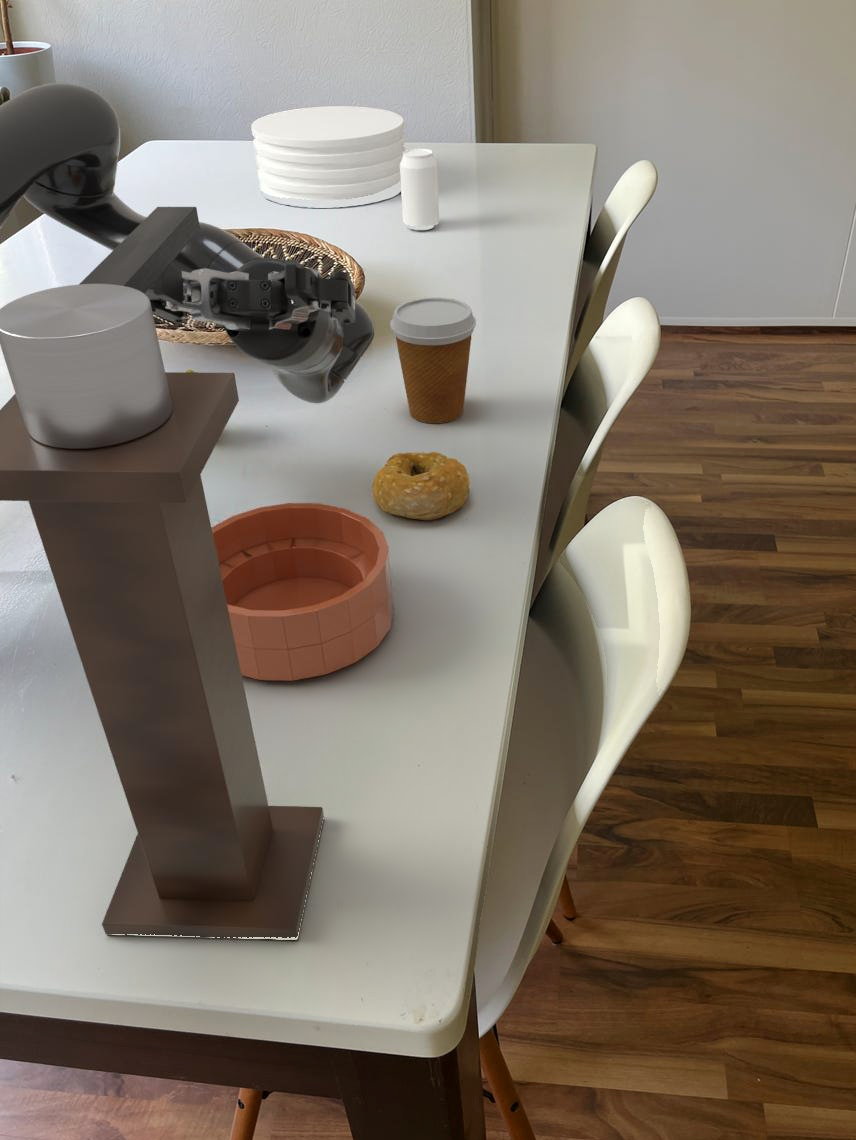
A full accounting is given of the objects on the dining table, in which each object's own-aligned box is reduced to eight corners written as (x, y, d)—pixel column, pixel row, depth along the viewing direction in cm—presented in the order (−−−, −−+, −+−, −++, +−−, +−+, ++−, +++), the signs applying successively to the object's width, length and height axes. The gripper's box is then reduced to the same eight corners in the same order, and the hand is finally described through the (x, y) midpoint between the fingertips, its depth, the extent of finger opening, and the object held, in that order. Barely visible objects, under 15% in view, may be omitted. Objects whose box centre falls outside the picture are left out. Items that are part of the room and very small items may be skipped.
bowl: (174, 684, 82) (156, 614, 77) (224, 567, 95) (211, 501, 90) (381, 688, 81) (374, 618, 77) (402, 569, 94) (397, 504, 90)
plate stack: (355, 161, 211) (350, 99, 204) (436, 189, 194) (433, 123, 187) (234, 185, 198) (224, 120, 191) (308, 218, 180) (300, 148, 173)
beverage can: (438, 232, 173) (435, 156, 166) (401, 233, 173) (397, 156, 166) (440, 221, 178) (437, 147, 170) (404, 222, 178) (400, 147, 171)
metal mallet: (3, 449, 44) (-34, 337, 41) (138, 293, 59) (118, 202, 56) (149, 450, 44) (122, 338, 41) (247, 293, 59) (233, 202, 56)
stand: (105, 936, 63) (-79, 469, 43) (153, 814, 71) (15, 370, 51) (298, 941, 63) (202, 472, 42) (324, 818, 70) (254, 372, 50)
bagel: (474, 473, 108) (473, 432, 105) (466, 529, 99) (465, 486, 96) (381, 471, 109) (377, 430, 106) (365, 526, 100) (361, 484, 97)
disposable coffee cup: (442, 438, 114) (439, 334, 107) (379, 415, 119) (371, 314, 112) (493, 407, 120) (493, 307, 113) (431, 387, 125) (426, 289, 117)
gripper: (371, 367, 81) (335, 337, 65) (195, 366, 82) (116, 336, 66) (371, 269, 80) (333, 214, 64) (192, 269, 81) (111, 214, 65)
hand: (223, 276), depth 65 cm, fingers open, 8 cm apart
